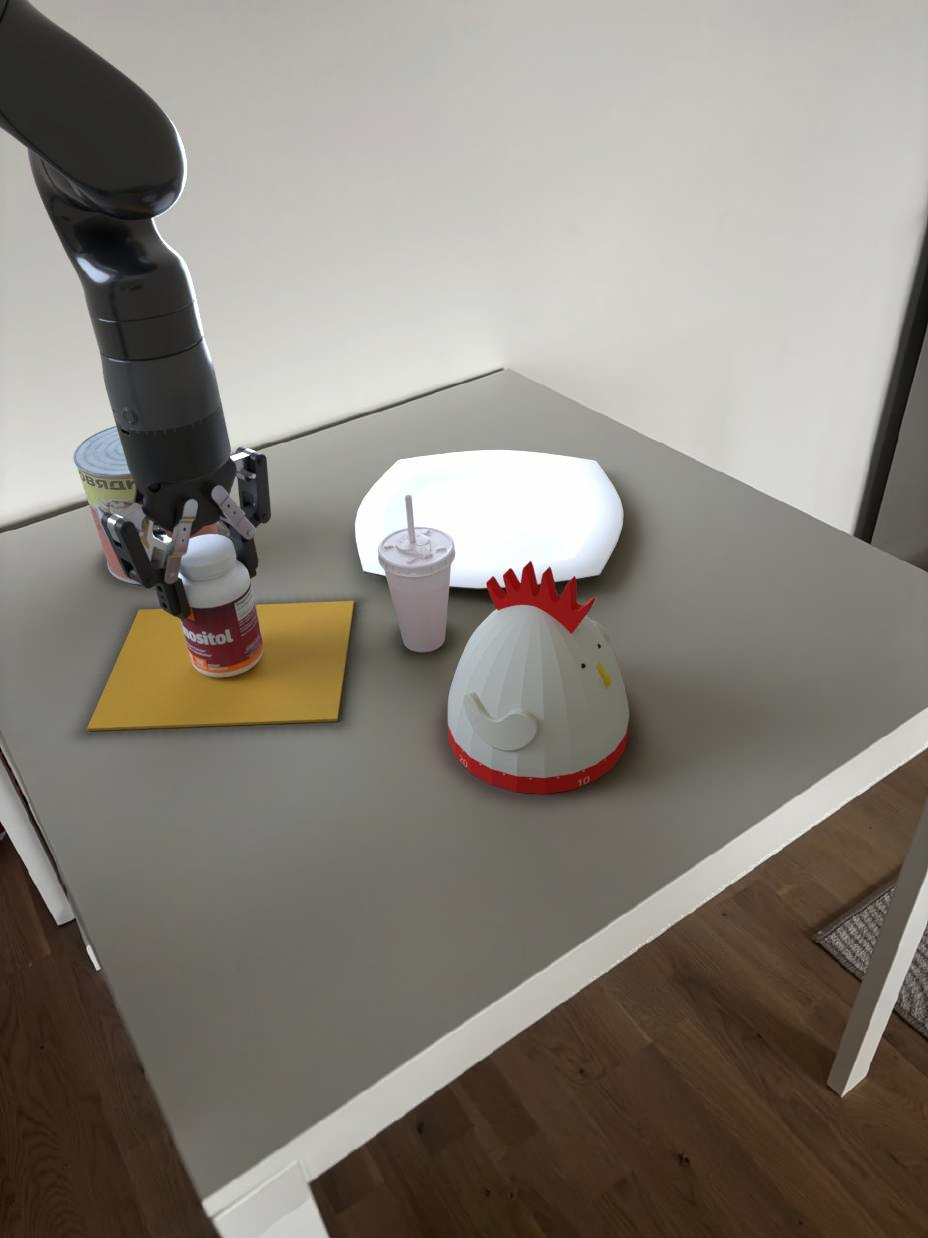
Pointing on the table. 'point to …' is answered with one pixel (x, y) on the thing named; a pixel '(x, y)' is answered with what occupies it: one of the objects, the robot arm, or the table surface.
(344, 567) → the table surface
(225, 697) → the cloth
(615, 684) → the kitchen timer
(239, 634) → the pill bottle
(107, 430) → the canned food
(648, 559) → the table surface
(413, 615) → the smoothie
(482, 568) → the plate
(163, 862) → the table surface
